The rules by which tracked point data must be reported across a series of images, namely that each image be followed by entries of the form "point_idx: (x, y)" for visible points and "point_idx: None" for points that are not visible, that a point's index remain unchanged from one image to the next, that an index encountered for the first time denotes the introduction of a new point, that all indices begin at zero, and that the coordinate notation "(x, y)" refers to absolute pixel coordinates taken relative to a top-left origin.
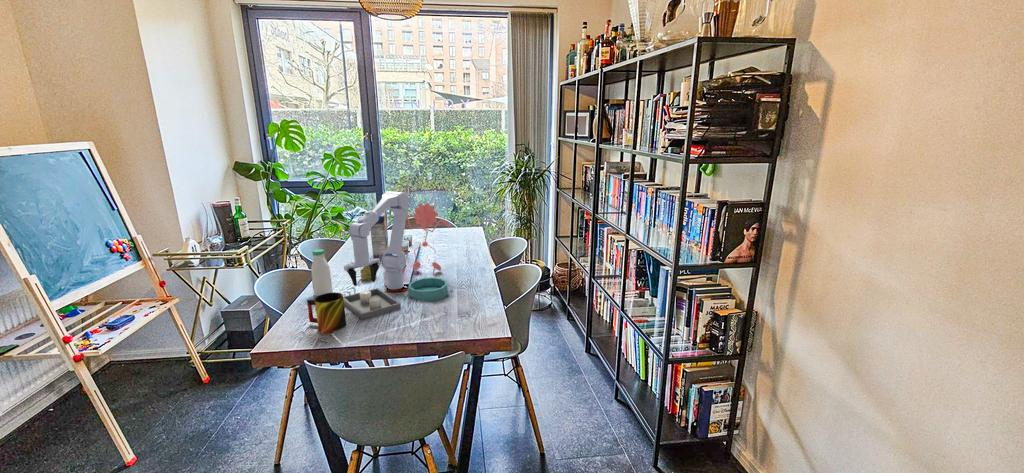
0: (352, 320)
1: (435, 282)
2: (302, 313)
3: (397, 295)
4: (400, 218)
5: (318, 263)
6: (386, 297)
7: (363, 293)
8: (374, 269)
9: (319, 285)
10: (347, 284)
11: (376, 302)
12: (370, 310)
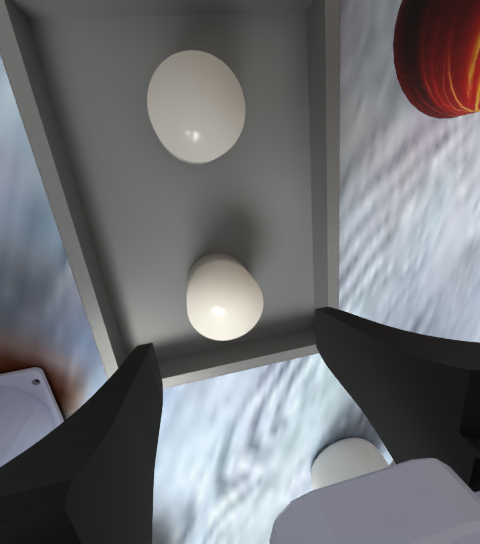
0: (349, 68)
1: None
2: (471, 303)
3: (5, 306)
4: None
5: None
6: (86, 241)
7: (241, 294)
8: (88, 449)
9: None
10: (234, 526)
11: (196, 53)
12: None
